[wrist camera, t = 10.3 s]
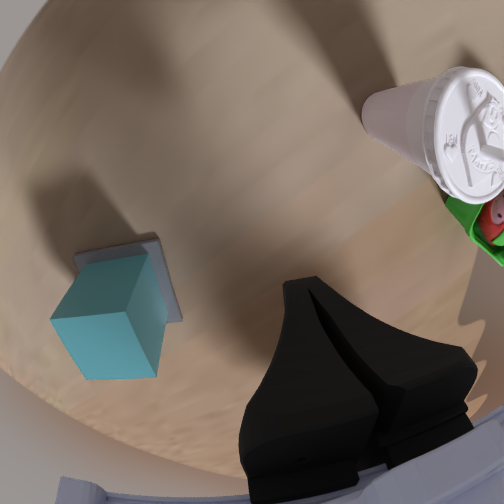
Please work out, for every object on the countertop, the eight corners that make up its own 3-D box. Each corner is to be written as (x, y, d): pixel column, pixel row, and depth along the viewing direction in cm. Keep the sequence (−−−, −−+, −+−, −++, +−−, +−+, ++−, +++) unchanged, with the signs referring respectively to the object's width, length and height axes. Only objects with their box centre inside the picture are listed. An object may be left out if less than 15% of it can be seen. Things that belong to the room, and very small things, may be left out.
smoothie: (331, 144, 19) (492, 224, 6) (356, 58, 16) (532, 33, 4) (406, 172, 20) (557, 261, 8) (429, 95, 18) (594, 127, 5)
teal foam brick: (168, 312, 23) (156, 377, 17) (109, 319, 23) (86, 379, 17) (148, 253, 21) (125, 311, 15) (85, 264, 20) (49, 319, 15)
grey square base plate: (182, 317, 24) (176, 368, 19) (105, 325, 24) (88, 372, 19) (159, 238, 21) (142, 279, 16) (75, 253, 20) (43, 294, 16)
